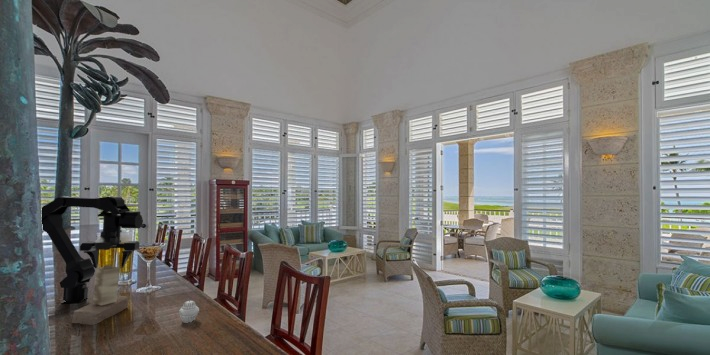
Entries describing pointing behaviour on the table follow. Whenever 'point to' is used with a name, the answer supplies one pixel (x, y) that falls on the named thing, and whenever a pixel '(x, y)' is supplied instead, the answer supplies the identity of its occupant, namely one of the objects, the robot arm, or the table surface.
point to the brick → (99, 311)
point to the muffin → (188, 311)
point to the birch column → (106, 285)
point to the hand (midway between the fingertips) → (109, 267)
